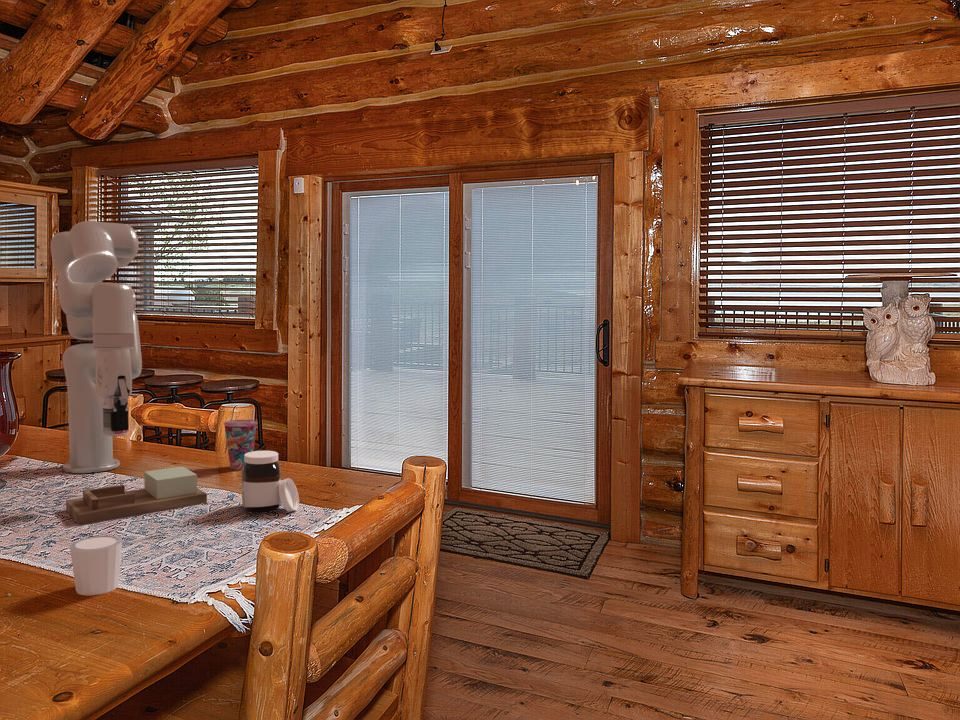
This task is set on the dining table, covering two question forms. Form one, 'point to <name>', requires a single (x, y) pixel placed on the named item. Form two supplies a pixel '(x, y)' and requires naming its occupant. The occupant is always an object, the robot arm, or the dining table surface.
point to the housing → (124, 503)
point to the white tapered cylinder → (96, 564)
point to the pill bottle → (107, 419)
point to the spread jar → (266, 484)
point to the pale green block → (170, 482)
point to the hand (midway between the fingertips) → (116, 428)
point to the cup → (239, 440)
